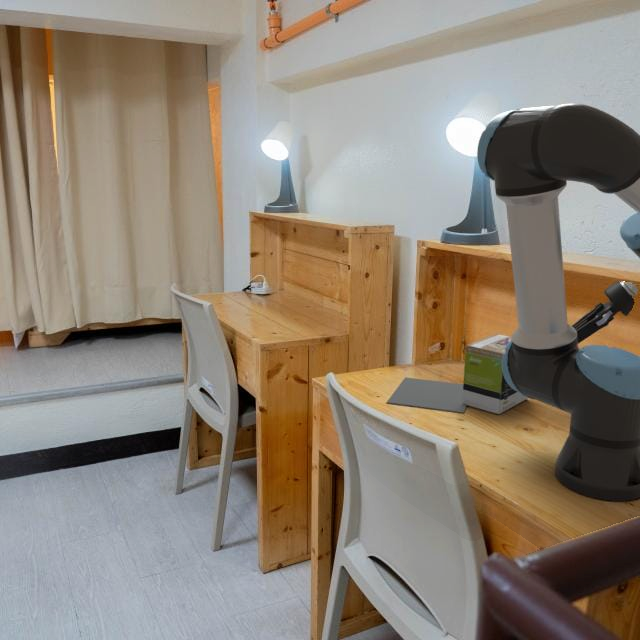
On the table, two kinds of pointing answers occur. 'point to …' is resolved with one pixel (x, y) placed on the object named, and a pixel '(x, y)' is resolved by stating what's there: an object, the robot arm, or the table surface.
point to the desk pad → (429, 395)
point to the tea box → (488, 376)
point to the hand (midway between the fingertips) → (541, 359)
